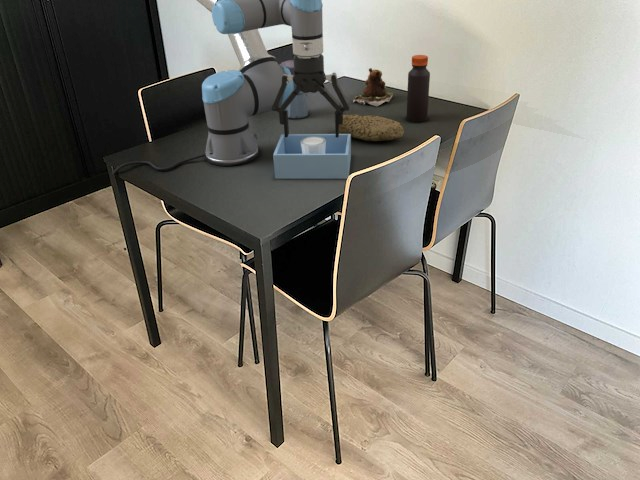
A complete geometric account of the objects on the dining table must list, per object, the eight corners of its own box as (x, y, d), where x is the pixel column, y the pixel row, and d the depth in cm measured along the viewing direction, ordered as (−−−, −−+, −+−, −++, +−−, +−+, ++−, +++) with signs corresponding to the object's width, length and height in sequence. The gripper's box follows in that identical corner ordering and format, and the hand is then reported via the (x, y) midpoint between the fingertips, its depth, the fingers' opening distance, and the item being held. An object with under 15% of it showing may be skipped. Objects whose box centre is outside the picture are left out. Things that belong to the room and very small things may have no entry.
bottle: (421, 114, 185) (424, 53, 174) (431, 120, 179) (435, 57, 169) (402, 117, 183) (405, 55, 172) (412, 124, 178) (415, 60, 167)
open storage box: (275, 178, 148) (273, 155, 144) (283, 156, 160) (281, 134, 157) (348, 178, 146) (348, 154, 142) (351, 156, 158) (350, 133, 155)
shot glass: (298, 168, 151) (296, 144, 147) (307, 158, 156) (306, 134, 153) (321, 171, 149) (320, 146, 145) (330, 160, 154) (329, 137, 150)
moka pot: (321, 113, 190) (318, 54, 179) (282, 124, 183) (277, 62, 172) (306, 106, 196) (302, 49, 186) (268, 116, 189) (262, 57, 179)
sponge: (332, 141, 172) (380, 144, 157) (331, 115, 169) (379, 116, 155) (362, 136, 180) (409, 139, 165) (361, 112, 178) (409, 112, 163)
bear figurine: (401, 96, 201) (402, 62, 195) (378, 108, 192) (379, 73, 185) (370, 91, 209) (370, 58, 202) (346, 102, 199) (346, 67, 192)
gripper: (255, 59, 135) (263, 140, 146) (358, 58, 133) (358, 141, 144) (261, 51, 141) (268, 130, 153) (359, 50, 139) (359, 130, 150)
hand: (312, 135), depth 148 cm, fingers open, 13 cm apart
